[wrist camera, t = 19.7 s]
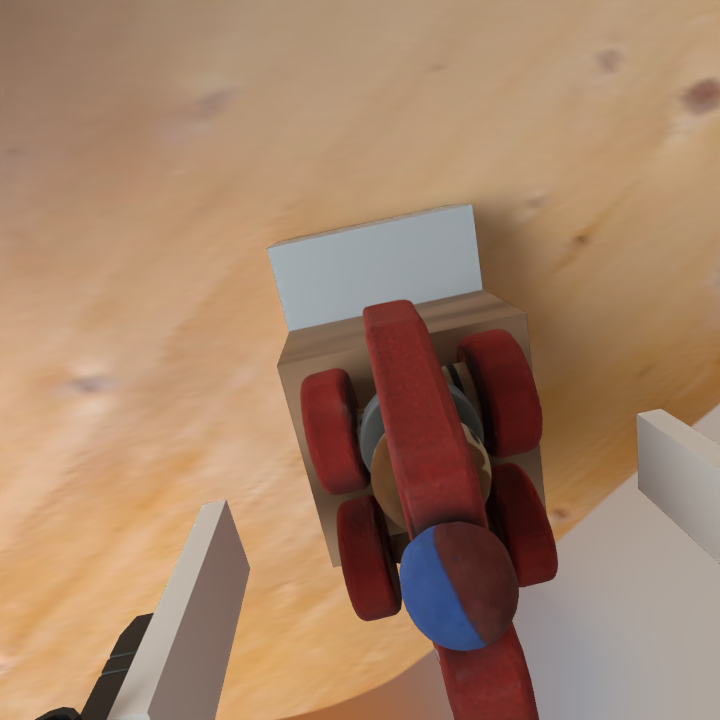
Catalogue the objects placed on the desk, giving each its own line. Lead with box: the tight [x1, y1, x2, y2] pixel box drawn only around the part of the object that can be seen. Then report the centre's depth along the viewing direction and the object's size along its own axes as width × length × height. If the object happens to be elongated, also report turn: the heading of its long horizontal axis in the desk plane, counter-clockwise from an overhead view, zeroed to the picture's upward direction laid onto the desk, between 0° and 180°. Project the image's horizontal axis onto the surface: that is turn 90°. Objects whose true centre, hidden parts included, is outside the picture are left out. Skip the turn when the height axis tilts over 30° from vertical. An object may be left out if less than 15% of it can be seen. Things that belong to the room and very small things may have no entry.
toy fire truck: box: [300, 299, 558, 720], centre depth 13 cm, size 7×12×10 cm, turn 13°
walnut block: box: [277, 289, 546, 567], centre depth 21 cm, size 9×9×5 cm
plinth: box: [267, 204, 483, 332], centre depth 25 cm, size 16×9×4 cm, turn 12°
